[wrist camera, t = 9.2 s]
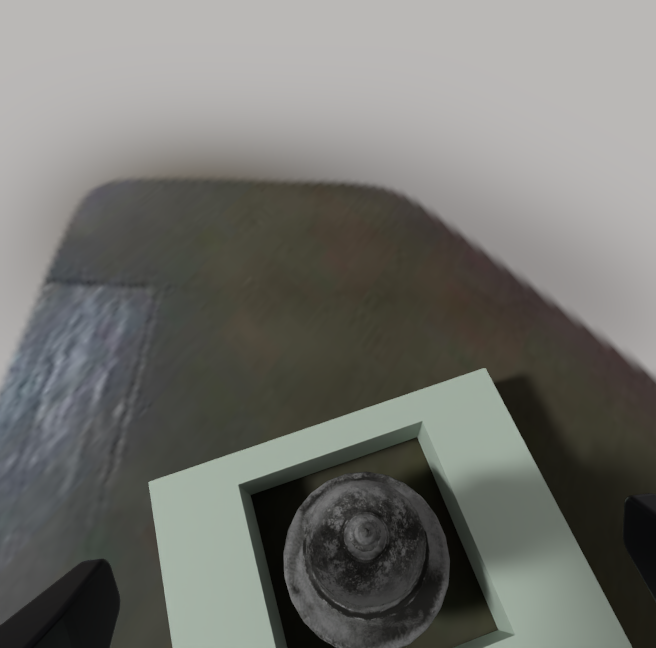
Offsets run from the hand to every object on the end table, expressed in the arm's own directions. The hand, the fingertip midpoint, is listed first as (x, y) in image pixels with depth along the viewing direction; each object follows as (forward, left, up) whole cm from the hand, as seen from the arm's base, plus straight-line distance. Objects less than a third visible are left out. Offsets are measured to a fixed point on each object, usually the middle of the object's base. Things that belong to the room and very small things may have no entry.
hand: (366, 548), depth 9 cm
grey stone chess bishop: (0, 0, -14) cm, 14 cm away
